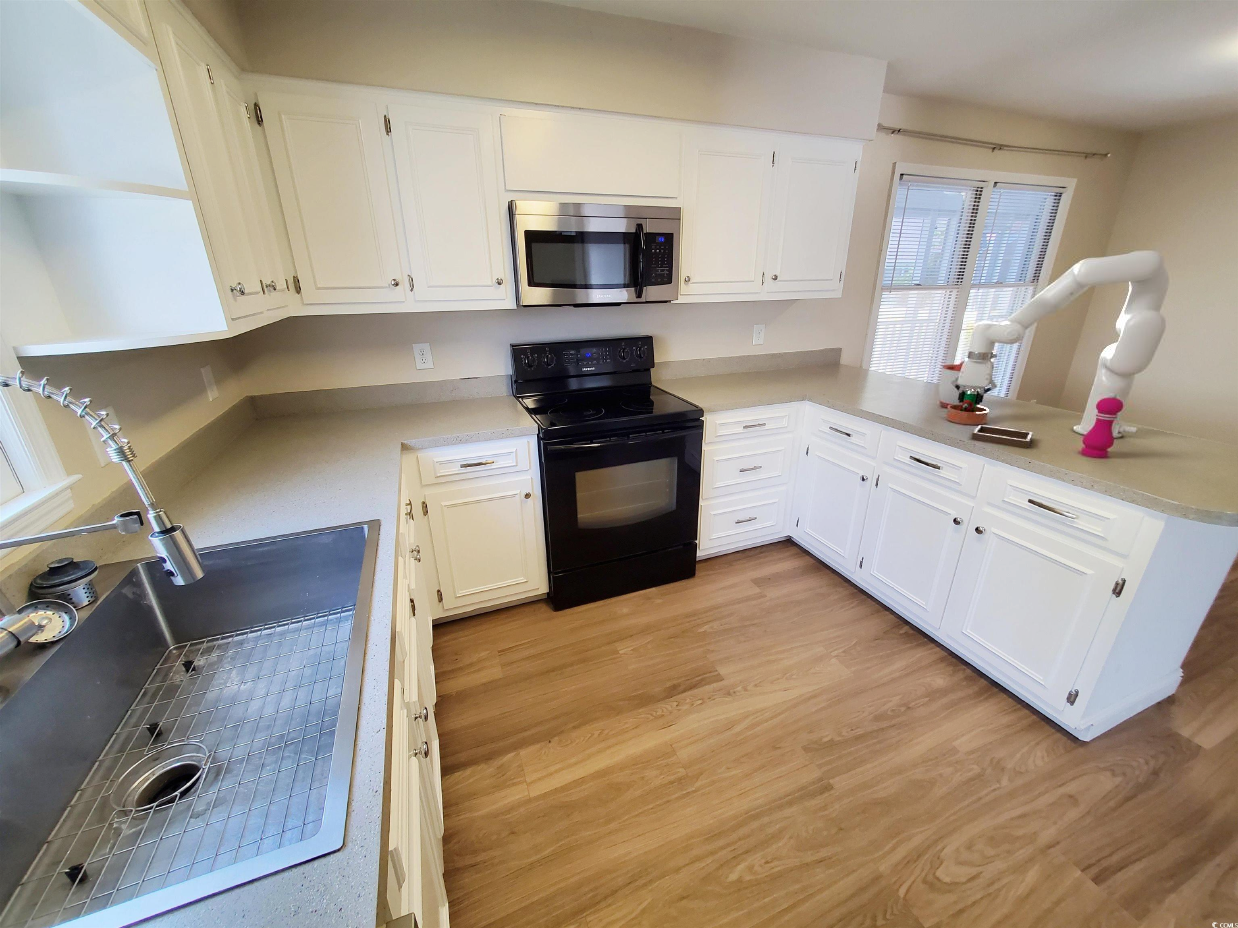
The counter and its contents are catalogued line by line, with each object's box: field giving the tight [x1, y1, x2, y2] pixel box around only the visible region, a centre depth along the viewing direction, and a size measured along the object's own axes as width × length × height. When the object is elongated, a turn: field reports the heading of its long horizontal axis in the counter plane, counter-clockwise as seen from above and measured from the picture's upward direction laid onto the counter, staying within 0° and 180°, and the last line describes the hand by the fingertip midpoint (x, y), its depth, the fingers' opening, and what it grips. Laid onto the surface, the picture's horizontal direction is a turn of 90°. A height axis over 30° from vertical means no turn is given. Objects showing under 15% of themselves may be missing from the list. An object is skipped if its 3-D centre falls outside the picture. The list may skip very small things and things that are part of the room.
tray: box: [971, 424, 1034, 449], centre depth 172 cm, size 16×12×3 cm
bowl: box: [945, 404, 990, 426], centre depth 193 cm, size 13×13×5 cm
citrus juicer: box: [938, 359, 980, 409], centre depth 210 cm, size 16×17×20 cm
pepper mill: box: [1080, 393, 1123, 459], centre depth 153 cm, size 7×7×20 cm
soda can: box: [960, 389, 980, 413], centre depth 192 cm, size 5×5×12 cm
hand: (969, 402), depth 192 cm, fingers closed on soda can, 5 cm apart
